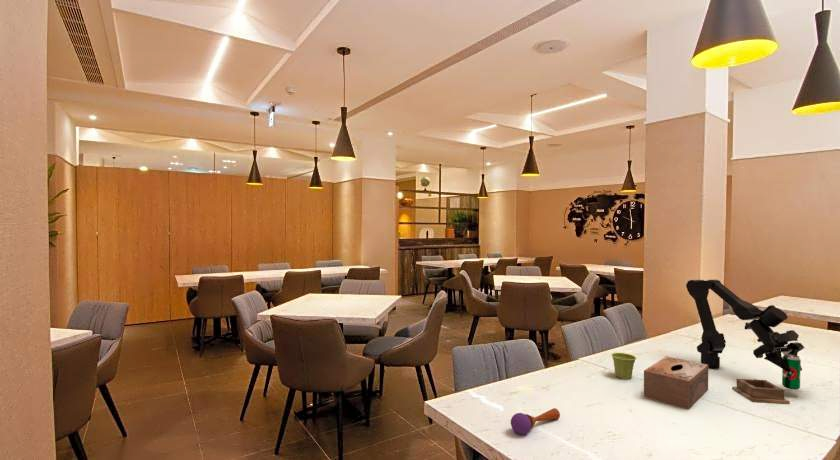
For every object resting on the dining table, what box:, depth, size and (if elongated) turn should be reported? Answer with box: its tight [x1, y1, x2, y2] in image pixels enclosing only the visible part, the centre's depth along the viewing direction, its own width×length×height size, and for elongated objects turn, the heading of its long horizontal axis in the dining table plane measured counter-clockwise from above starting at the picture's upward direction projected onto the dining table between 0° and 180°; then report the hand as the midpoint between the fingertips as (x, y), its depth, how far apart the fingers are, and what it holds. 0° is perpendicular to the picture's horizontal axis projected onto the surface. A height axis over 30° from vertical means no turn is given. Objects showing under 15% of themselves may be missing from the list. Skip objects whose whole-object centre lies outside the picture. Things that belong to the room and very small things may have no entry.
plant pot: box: [611, 352, 637, 380], centre depth 174 cm, size 9×9×9 cm
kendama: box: [510, 407, 561, 436], centre depth 130 cm, size 6×6×20 cm
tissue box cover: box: [643, 355, 709, 410], centre depth 156 cm, size 26×14×10 cm, turn 133°
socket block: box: [731, 378, 791, 405], centre depth 154 cm, size 12×12×4 cm
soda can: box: [781, 354, 802, 390], centre depth 155 cm, size 5×5×12 cm
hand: (795, 371), depth 154 cm, fingers closed on soda can, 5 cm apart
